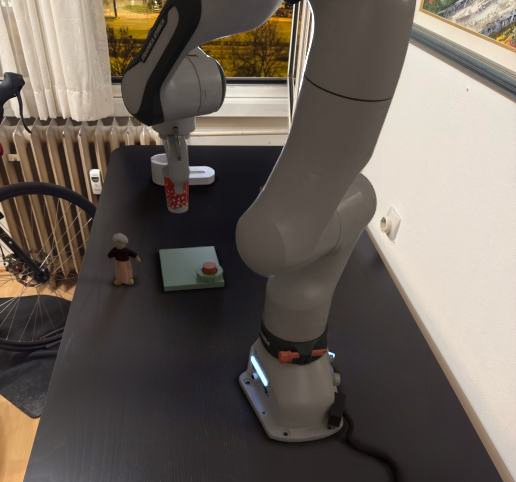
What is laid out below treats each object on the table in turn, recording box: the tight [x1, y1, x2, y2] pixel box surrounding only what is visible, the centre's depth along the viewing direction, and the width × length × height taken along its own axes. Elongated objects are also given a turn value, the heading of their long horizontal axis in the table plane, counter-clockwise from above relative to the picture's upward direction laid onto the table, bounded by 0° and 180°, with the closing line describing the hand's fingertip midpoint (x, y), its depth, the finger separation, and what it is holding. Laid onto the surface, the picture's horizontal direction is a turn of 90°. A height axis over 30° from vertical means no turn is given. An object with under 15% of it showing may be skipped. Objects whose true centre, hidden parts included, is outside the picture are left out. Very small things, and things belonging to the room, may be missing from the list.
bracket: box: [150, 153, 216, 186], centre depth 153 cm, size 20×9×7 cm, turn 101°
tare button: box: [203, 261, 216, 275], centre depth 113 cm, size 3×3×2 cm
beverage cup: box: [161, 165, 190, 214], centre depth 104 cm, size 6×6×14 cm
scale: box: [158, 245, 225, 292], centre depth 117 cm, size 16×14×3 cm
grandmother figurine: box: [105, 232, 142, 286], centre depth 108 cm, size 8×4×13 cm, turn 105°
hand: (177, 185), depth 105 cm, fingers closed on beverage cup, 6 cm apart
